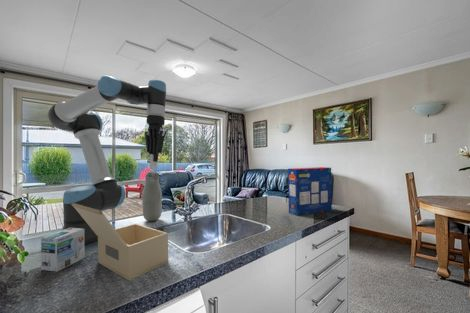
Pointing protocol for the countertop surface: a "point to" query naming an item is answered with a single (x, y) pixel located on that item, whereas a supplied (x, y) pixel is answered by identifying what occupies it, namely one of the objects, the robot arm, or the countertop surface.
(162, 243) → the carton
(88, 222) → the carton flap
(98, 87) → the robot arm
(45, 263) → the light bulb box
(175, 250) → the countertop surface
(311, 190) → the blue product box
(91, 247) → the countertop surface
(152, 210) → the grey vase
